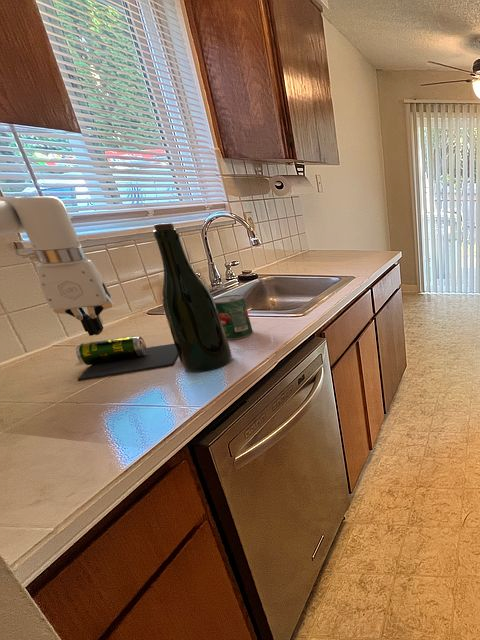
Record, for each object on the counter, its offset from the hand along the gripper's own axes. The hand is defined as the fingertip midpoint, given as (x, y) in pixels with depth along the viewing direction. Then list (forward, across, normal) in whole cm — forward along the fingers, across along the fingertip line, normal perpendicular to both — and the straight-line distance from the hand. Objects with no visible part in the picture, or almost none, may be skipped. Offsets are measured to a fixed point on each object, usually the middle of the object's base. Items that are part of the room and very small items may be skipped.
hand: (96, 333), depth 96 cm
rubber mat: (+8, +6, -1) cm, 10 cm away
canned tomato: (+8, +28, +8) cm, 30 cm away
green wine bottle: (+8, +23, -12) cm, 27 cm away
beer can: (+5, -5, 0) cm, 7 cm away
